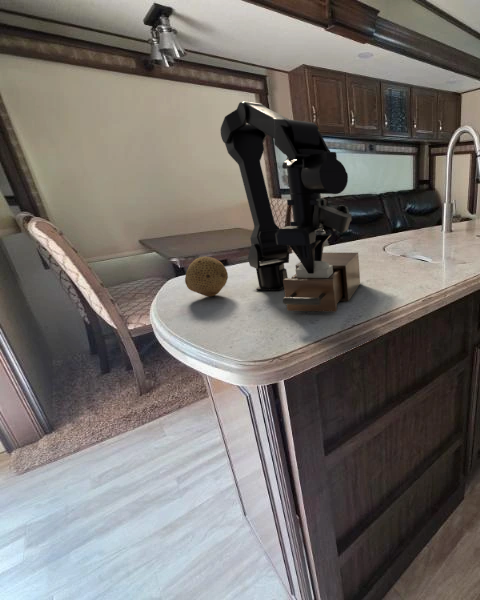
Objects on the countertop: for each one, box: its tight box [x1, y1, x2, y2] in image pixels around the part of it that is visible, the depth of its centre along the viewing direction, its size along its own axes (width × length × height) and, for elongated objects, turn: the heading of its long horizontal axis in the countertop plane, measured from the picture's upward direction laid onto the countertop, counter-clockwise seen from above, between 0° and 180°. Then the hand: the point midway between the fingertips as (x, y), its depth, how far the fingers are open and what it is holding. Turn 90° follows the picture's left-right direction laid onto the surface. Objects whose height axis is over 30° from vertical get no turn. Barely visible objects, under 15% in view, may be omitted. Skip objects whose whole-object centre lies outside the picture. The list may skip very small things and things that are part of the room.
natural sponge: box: [184, 256, 229, 298], centre depth 76 cm, size 9×9×10 cm
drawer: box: [282, 269, 345, 313], centre depth 68 cm, size 17×10×7 cm, turn 175°
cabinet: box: [295, 252, 361, 302], centre depth 79 cm, size 14×12×9 cm
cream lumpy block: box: [295, 261, 333, 278], centre depth 67 cm, size 7×4×3 cm, turn 85°
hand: (314, 270), depth 67 cm, fingers closed on cream lumpy block, 4 cm apart
